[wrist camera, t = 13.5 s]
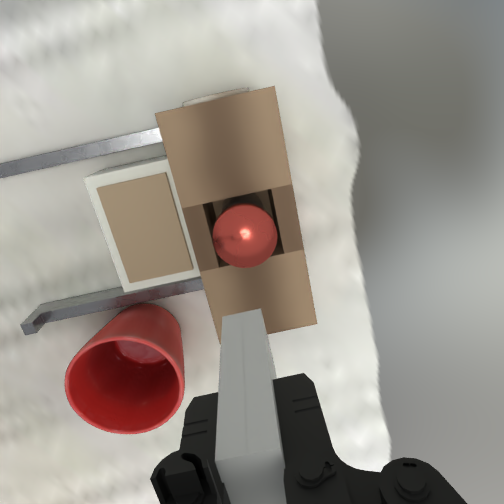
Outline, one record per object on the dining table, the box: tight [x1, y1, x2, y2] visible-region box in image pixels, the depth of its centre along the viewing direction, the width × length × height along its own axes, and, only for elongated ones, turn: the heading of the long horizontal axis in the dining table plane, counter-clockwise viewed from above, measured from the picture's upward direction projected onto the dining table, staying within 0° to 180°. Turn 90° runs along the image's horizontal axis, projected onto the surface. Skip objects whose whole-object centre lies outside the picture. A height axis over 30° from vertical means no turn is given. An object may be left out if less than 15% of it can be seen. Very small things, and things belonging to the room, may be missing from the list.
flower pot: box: [65, 304, 185, 434], centre depth 40 cm, size 11×11×10 cm
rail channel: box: [0, 128, 204, 335], centre depth 38 cm, size 20×16×4 cm
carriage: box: [83, 155, 201, 292], centre depth 37 cm, size 8×11×6 cm
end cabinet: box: [155, 86, 317, 344], centre depth 34 cm, size 8×18×12 cm, turn 12°
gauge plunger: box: [213, 193, 277, 268], centre depth 30 cm, size 4×4×8 cm
